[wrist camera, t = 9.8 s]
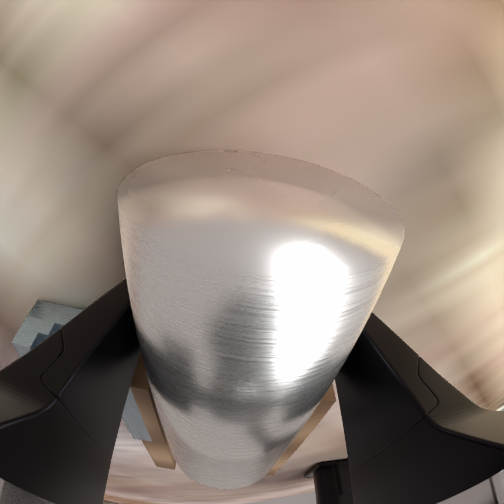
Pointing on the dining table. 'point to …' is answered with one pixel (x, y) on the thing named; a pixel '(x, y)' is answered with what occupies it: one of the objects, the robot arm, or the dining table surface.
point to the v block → (48, 322)
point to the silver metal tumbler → (247, 297)
